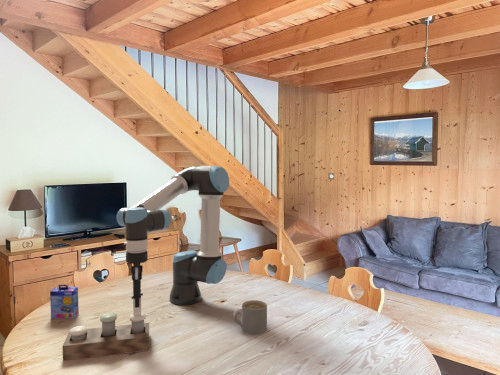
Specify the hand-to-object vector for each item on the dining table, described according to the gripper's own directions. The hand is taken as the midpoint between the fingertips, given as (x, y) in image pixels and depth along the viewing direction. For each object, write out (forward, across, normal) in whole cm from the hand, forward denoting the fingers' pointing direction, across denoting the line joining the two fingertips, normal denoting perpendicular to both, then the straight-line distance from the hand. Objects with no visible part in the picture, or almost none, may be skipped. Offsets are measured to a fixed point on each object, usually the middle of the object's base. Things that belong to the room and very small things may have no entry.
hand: (137, 314), depth 138 cm
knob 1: (+10, 0, -20) cm, 22 cm away
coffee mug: (+11, -2, +43) cm, 45 cm away
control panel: (+11, 0, -10) cm, 15 cm away
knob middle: (+7, 0, -10) cm, 12 cm away
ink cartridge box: (+11, -33, -31) cm, 47 cm away
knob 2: (+7, 0, 0) cm, 7 cm away
